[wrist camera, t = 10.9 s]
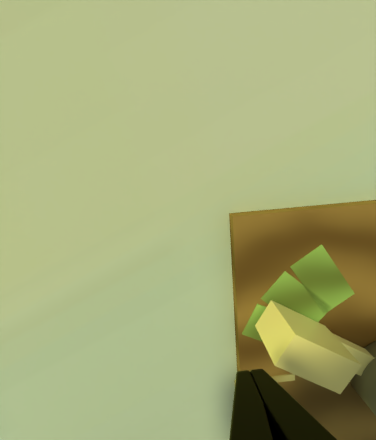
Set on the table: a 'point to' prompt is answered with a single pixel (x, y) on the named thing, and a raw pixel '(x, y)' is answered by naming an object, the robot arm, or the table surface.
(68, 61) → the table surface
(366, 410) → the brown flat wooden board
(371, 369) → the peg lever
